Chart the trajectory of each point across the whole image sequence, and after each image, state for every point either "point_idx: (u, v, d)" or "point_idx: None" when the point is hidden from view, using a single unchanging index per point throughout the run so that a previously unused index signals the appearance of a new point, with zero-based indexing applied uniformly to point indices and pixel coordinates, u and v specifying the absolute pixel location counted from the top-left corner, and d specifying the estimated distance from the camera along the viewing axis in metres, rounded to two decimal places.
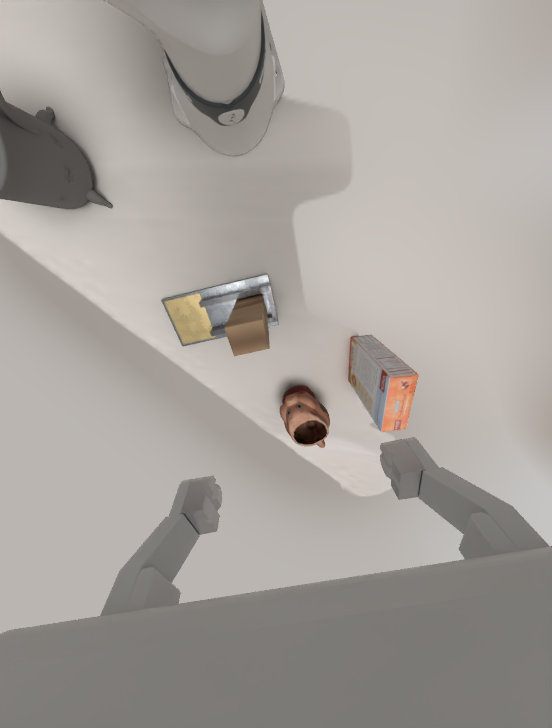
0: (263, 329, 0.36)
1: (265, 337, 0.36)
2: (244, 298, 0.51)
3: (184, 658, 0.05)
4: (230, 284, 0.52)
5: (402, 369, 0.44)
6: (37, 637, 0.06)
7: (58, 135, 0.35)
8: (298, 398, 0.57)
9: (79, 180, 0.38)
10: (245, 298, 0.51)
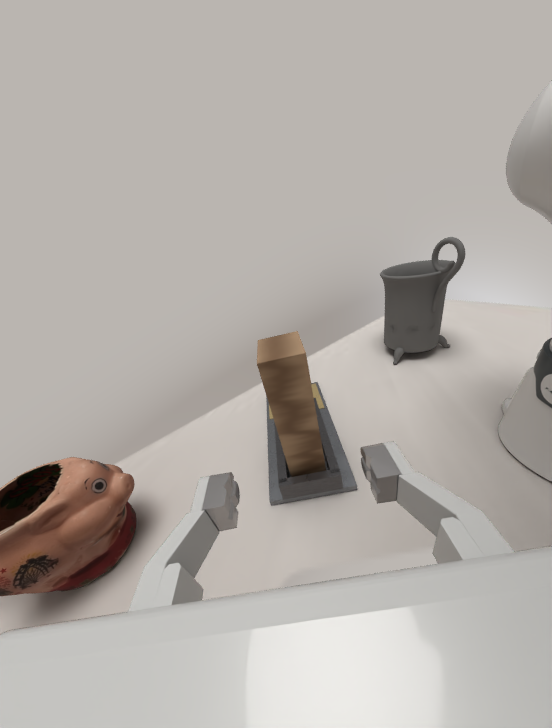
0: (289, 355, 0.23)
1: (276, 358, 0.23)
2: None
3: (184, 658, 0.05)
4: (336, 436, 0.38)
5: None
6: (37, 637, 0.06)
7: (435, 333, 0.50)
8: (115, 494, 0.27)
9: (409, 339, 0.51)
10: None
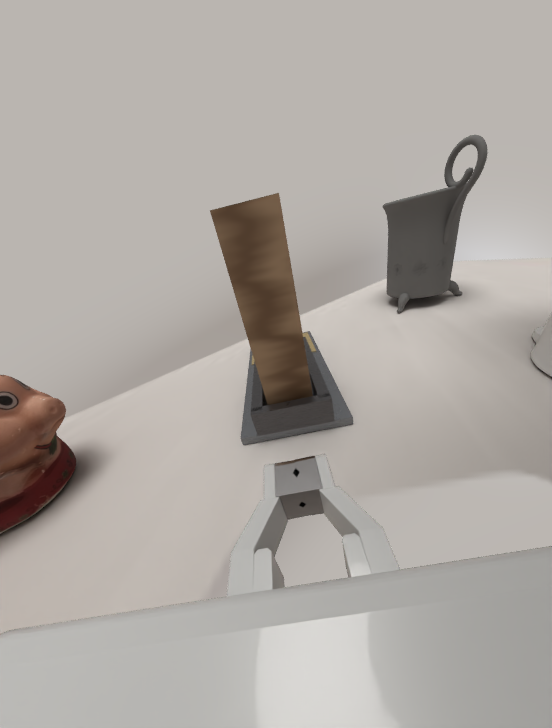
0: None
1: None
2: None
3: (184, 658, 0.05)
4: (329, 374, 0.31)
5: None
6: (37, 637, 0.06)
7: (446, 273, 0.43)
8: (29, 415, 0.21)
9: (415, 281, 0.44)
10: None
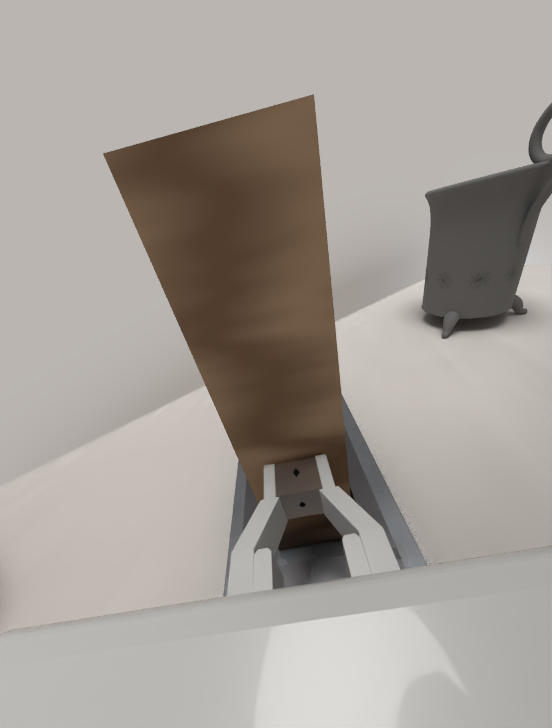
0: (244, 117, 0.05)
1: None
2: None
3: (184, 658, 0.05)
4: (368, 454, 0.20)
5: None
6: (37, 637, 0.06)
7: (514, 286, 0.32)
8: None
9: (470, 296, 0.32)
10: None
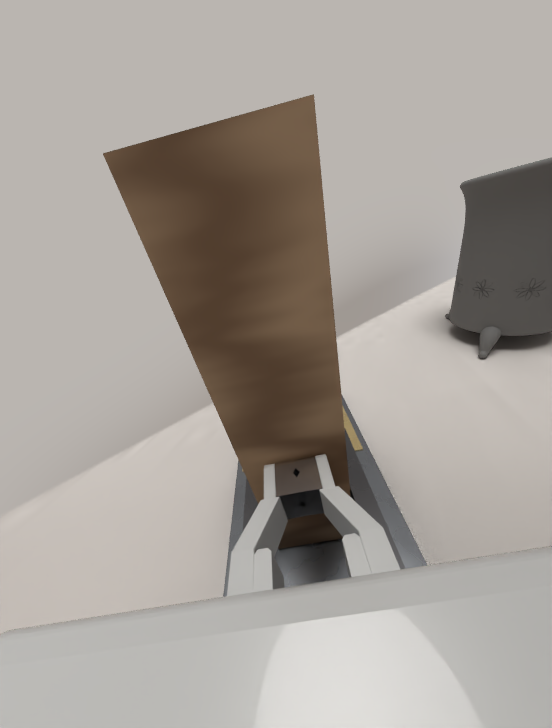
0: (244, 117, 0.05)
1: None
2: None
3: (184, 658, 0.05)
4: (414, 549, 0.14)
5: None
6: (37, 637, 0.06)
7: None
8: None
9: (517, 309, 0.26)
10: None
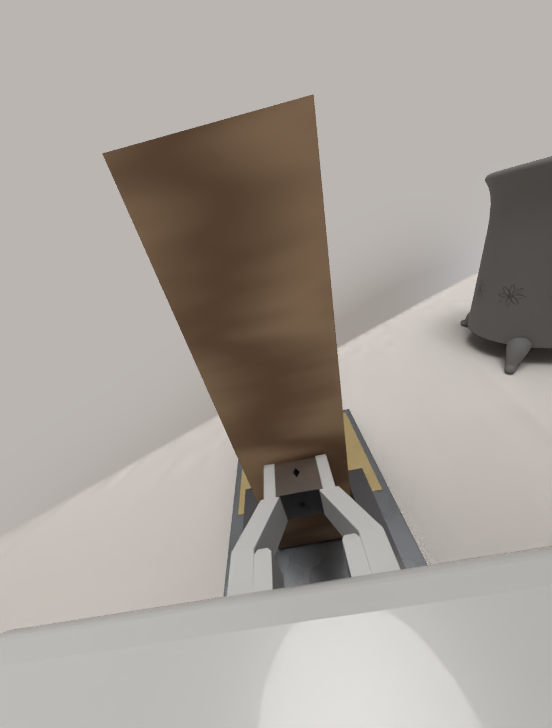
0: (244, 117, 0.05)
1: None
2: None
3: (184, 658, 0.05)
4: None
5: None
6: (37, 637, 0.06)
7: None
8: None
9: None
10: None
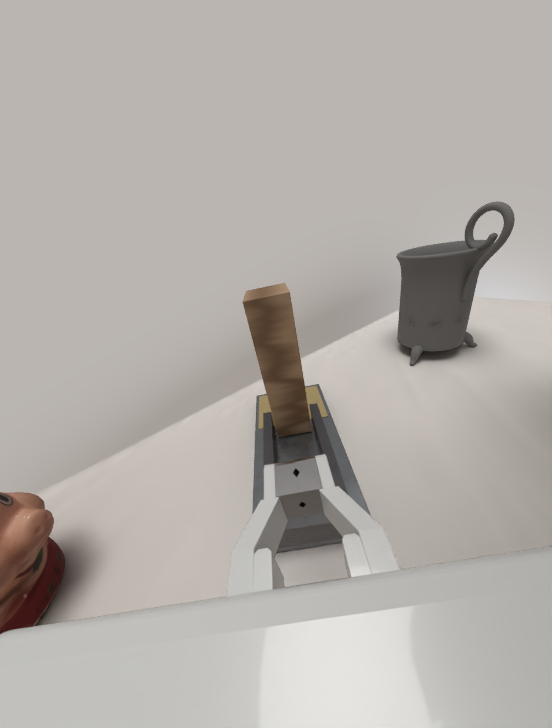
0: (274, 294, 0.24)
1: (261, 297, 0.24)
2: None
3: (184, 658, 0.05)
4: (344, 455, 0.29)
5: None
6: (37, 637, 0.06)
7: (462, 328, 0.41)
8: (10, 547, 0.18)
9: (430, 335, 0.42)
10: None
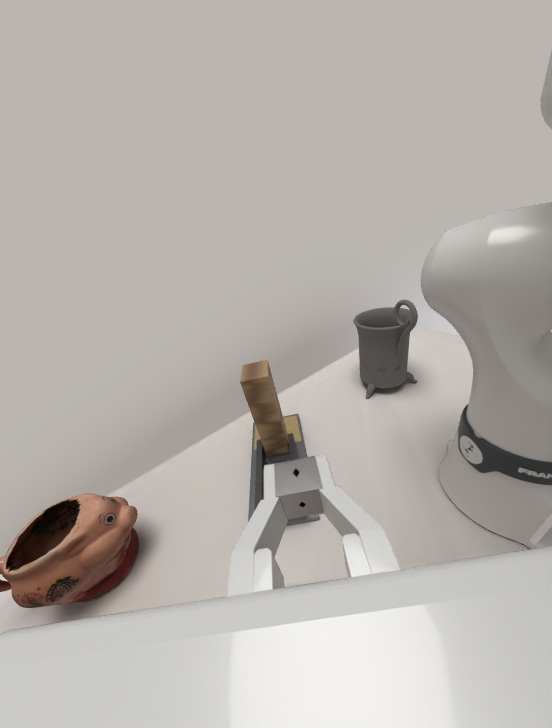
0: (259, 377, 0.40)
1: (251, 378, 0.40)
2: (286, 432, 0.52)
3: (184, 658, 0.05)
4: None
5: None
6: (37, 637, 0.06)
7: (401, 373, 0.57)
8: (122, 525, 0.34)
9: (378, 377, 0.58)
10: (285, 432, 0.52)
